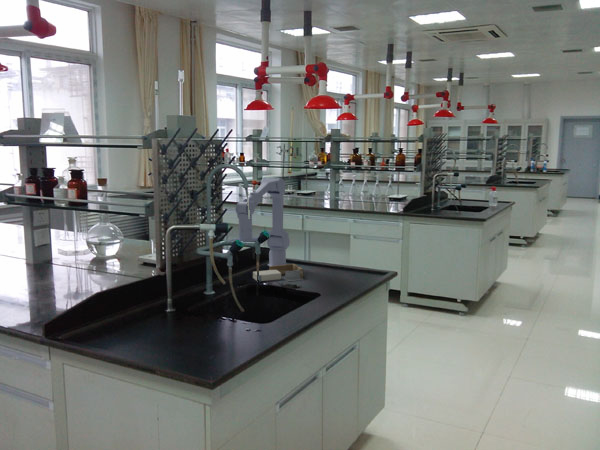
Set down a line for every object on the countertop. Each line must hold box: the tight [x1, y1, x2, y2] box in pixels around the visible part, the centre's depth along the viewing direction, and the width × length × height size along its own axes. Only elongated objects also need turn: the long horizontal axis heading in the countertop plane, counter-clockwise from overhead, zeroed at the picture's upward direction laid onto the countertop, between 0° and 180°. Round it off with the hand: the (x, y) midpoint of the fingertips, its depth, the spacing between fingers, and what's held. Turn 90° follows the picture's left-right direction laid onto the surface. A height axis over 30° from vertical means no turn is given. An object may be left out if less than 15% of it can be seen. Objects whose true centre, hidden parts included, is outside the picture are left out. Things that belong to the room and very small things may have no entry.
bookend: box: [284, 270, 304, 282], centre depth 230 cm, size 4×7×4 cm, turn 112°
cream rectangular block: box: [252, 269, 282, 282], centre depth 233 cm, size 7×11×3 cm, turn 112°
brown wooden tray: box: [268, 263, 304, 279], centre depth 236 cm, size 11×12×4 cm
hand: (246, 259), depth 228 cm, fingers open, 7 cm apart
